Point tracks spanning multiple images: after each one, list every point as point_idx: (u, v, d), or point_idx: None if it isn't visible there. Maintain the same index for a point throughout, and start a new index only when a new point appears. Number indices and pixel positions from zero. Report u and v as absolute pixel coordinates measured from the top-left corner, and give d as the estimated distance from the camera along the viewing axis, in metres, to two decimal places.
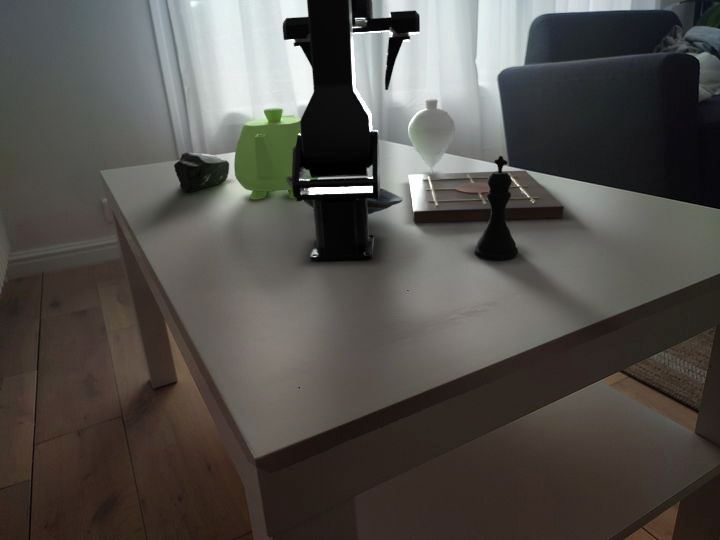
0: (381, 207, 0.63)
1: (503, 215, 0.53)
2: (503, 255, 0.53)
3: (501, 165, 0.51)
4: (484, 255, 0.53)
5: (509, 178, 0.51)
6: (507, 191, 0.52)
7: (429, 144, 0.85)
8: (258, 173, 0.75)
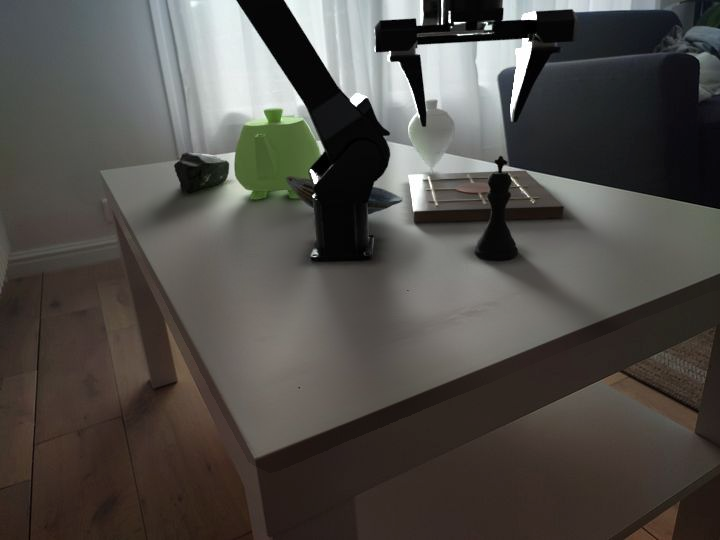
0: (381, 207, 0.63)
1: (503, 215, 0.53)
2: (503, 255, 0.53)
3: (501, 165, 0.51)
4: (484, 255, 0.53)
5: (509, 178, 0.51)
6: (507, 191, 0.52)
7: (429, 144, 0.85)
8: (258, 173, 0.75)
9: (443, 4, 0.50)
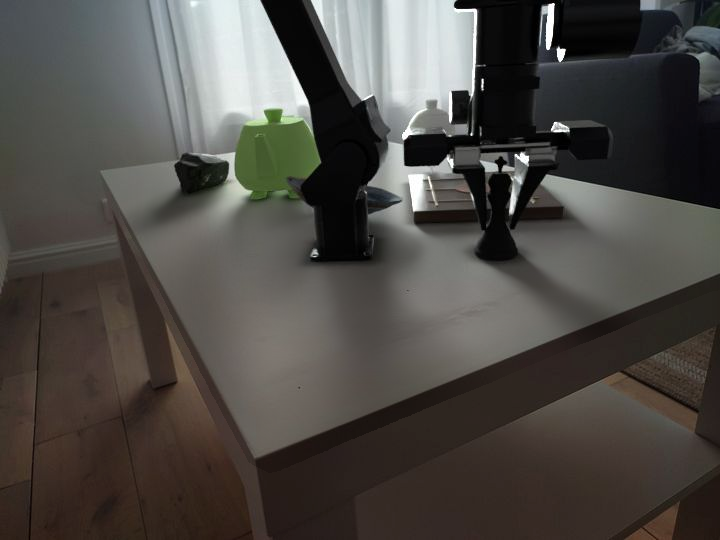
0: (381, 207, 0.63)
1: (503, 215, 0.53)
2: (503, 255, 0.53)
3: (501, 165, 0.51)
4: (484, 255, 0.53)
5: (509, 178, 0.51)
6: (507, 191, 0.52)
7: None
8: (258, 173, 0.75)
9: (474, 117, 0.49)
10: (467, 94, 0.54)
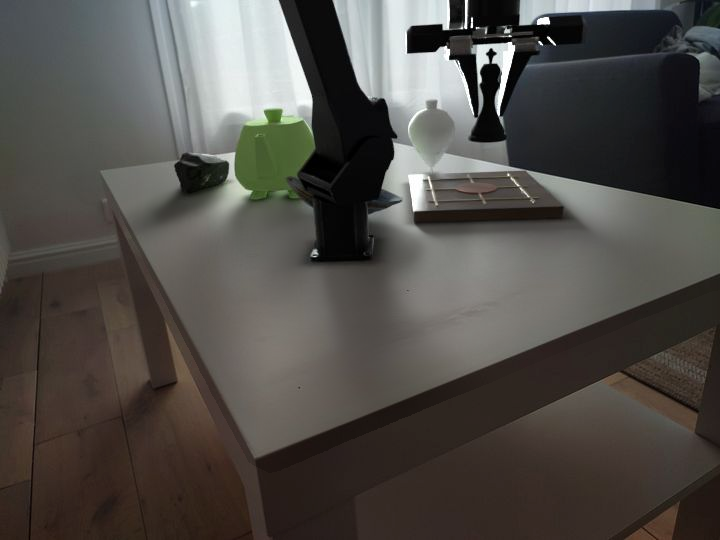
0: (381, 207, 0.63)
1: (493, 103, 0.60)
2: (493, 138, 0.60)
3: (491, 56, 0.58)
4: (476, 139, 0.61)
5: (498, 67, 0.59)
6: (496, 80, 0.59)
7: (429, 144, 0.85)
8: (258, 173, 0.75)
9: (467, 11, 0.57)
10: None
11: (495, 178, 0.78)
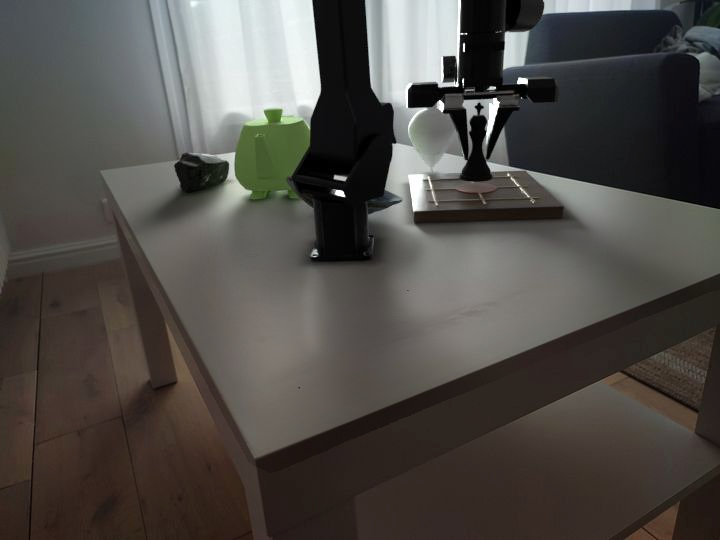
0: (381, 207, 0.63)
1: (481, 148, 0.71)
2: (480, 177, 0.71)
3: (479, 109, 0.69)
4: (466, 178, 0.71)
5: (485, 119, 0.69)
6: (484, 129, 0.70)
7: (429, 144, 0.85)
8: (258, 173, 0.75)
9: (458, 72, 0.67)
10: (454, 58, 0.72)
11: (495, 178, 0.78)
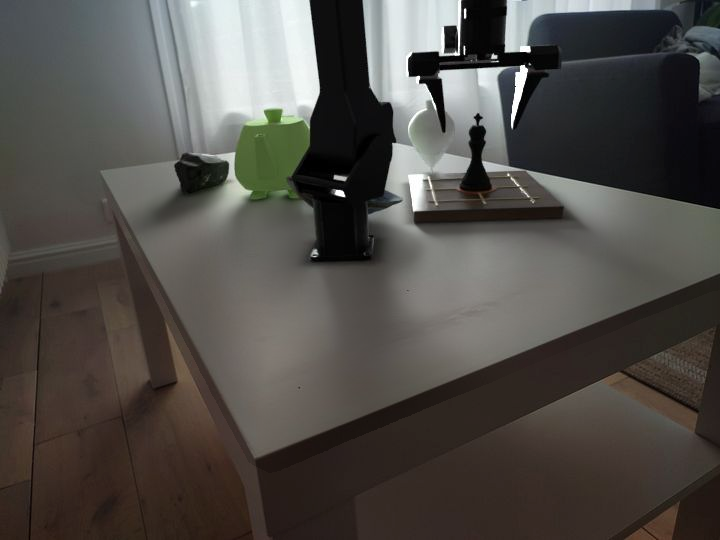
0: (381, 207, 0.63)
1: (480, 158, 0.71)
2: (480, 187, 0.71)
3: (478, 119, 0.69)
4: (466, 188, 0.72)
5: (484, 129, 0.69)
6: (483, 139, 0.70)
7: (429, 144, 0.85)
8: (258, 173, 0.75)
9: (459, 40, 0.66)
10: (455, 28, 0.71)
11: (495, 178, 0.78)
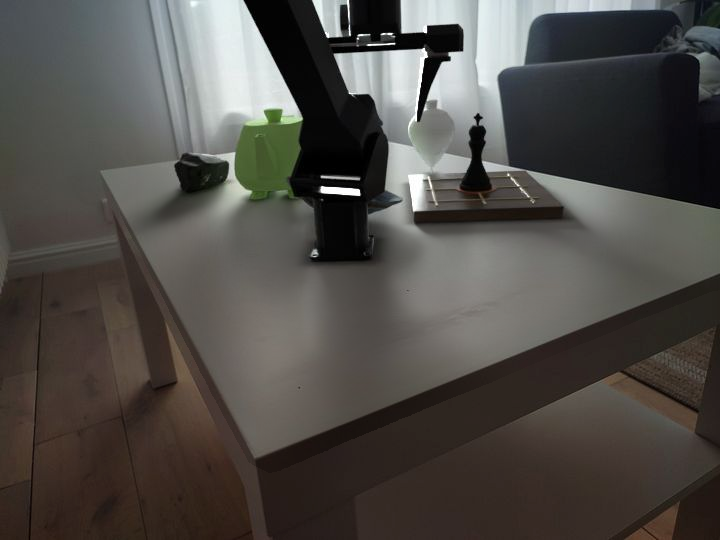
0: (381, 207, 0.63)
1: (480, 158, 0.71)
2: (480, 187, 0.71)
3: (478, 119, 0.69)
4: (466, 188, 0.72)
5: (484, 129, 0.69)
6: (483, 139, 0.70)
7: (429, 144, 0.85)
8: (258, 173, 0.75)
9: (349, 19, 0.57)
10: None
11: (495, 178, 0.78)
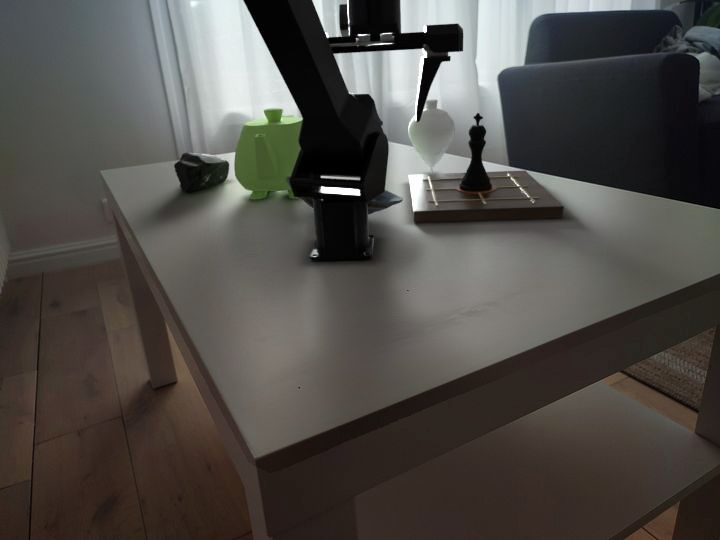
0: (381, 207, 0.63)
1: (480, 158, 0.71)
2: (480, 187, 0.71)
3: (478, 119, 0.69)
4: (466, 188, 0.72)
5: (484, 129, 0.69)
6: (483, 139, 0.70)
7: (429, 144, 0.85)
8: (258, 173, 0.75)
9: (348, 19, 0.57)
10: None
11: (495, 178, 0.78)
